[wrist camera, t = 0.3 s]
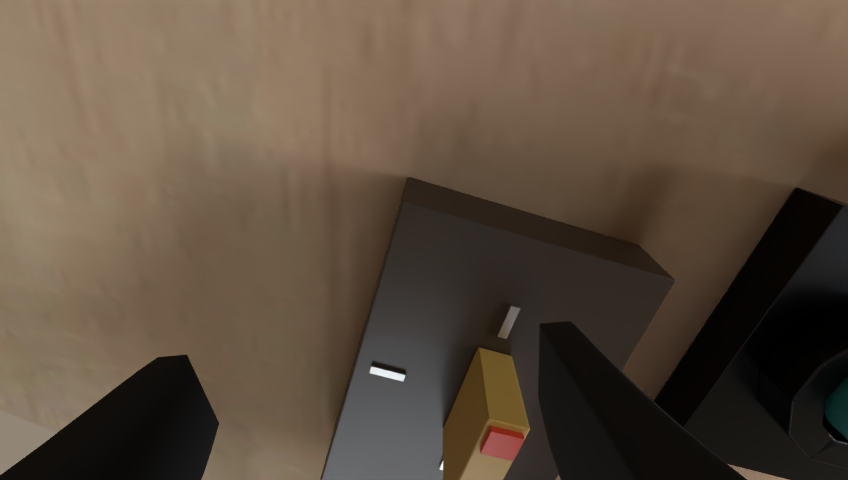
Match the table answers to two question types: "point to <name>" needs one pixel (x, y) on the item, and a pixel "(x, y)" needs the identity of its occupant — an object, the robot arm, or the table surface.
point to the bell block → (775, 351)
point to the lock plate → (477, 325)
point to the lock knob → (485, 421)
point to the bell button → (838, 408)
